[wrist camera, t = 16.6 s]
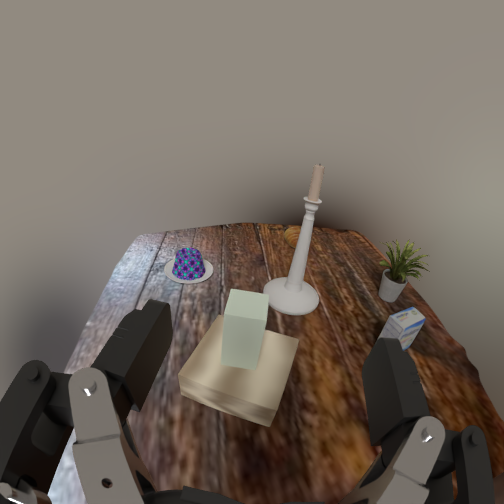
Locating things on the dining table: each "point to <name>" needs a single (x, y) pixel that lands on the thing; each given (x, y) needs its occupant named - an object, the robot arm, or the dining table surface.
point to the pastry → (292, 236)
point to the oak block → (239, 376)
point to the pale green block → (243, 328)
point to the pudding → (188, 267)
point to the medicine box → (403, 326)
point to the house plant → (398, 272)
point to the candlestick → (298, 263)
